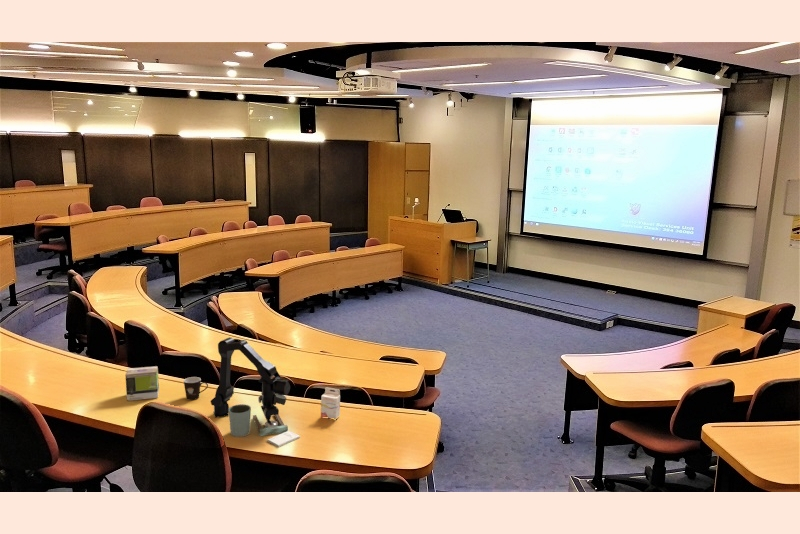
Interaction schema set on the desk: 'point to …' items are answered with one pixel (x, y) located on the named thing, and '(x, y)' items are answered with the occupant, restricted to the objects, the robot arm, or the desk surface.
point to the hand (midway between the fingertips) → (268, 421)
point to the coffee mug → (193, 387)
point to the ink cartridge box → (330, 403)
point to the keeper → (271, 424)
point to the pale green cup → (239, 420)
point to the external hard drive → (283, 438)
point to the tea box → (142, 383)
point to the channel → (271, 430)
